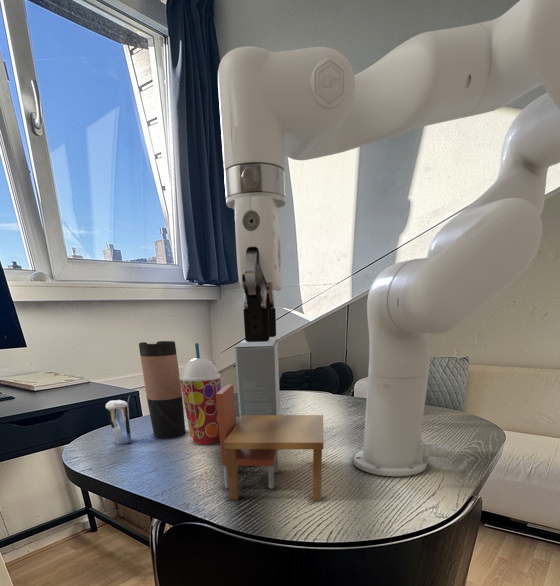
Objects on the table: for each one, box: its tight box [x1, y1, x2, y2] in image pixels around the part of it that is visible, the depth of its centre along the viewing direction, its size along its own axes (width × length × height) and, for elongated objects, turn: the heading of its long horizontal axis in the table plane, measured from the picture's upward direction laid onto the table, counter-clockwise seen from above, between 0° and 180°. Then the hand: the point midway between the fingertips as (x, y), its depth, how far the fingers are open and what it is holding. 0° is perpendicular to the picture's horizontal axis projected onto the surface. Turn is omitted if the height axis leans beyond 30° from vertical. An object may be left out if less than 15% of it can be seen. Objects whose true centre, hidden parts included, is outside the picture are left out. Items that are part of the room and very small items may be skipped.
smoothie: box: [179, 342, 222, 445], centre depth 85 cm, size 8×8×20 cm
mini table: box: [224, 414, 325, 502], centre depth 66 cm, size 14×16×9 cm
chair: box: [216, 383, 279, 489], centre depth 65 cm, size 8×8×15 cm
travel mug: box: [138, 340, 186, 440], centre depth 91 cm, size 8×8×20 cm
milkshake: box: [105, 395, 132, 445], centre depth 88 cm, size 4×5×10 cm
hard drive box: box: [234, 338, 282, 420], centre depth 86 cm, size 16×8×20 cm, turn 178°
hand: (261, 338), depth 59 cm, fingers open, 8 cm apart
